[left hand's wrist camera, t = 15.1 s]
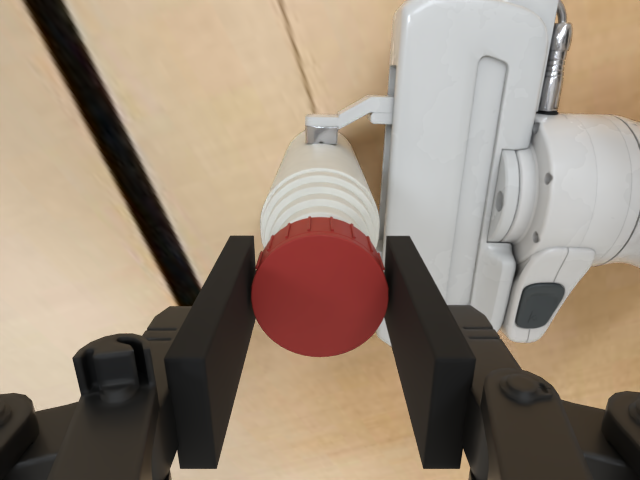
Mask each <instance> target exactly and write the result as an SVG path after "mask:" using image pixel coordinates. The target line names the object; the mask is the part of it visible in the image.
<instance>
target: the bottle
mask: <svg viewBox="0 0 640 480" xmlns="http://www.w3.org/2000/svg"><path fill="white" fill-rule="evenodd" d="M309 216H311V217H329V218H330V216H331V217H333V218H334V219H338V220H341V221H344V222H347V223H349V224H351V223H352V224H353V225H354V227H356V228H357V229H359V230H360V231H361V232H362V233H364V234H365V235H366V236H369V237H370V240H371V242H372V244H373V245H374V247H375V249H376V247H377V243H378V239H379V228H380V221H379V213H378V209H377V206H376V203H375V201H374V198H373V196H372V194H371V191H370V189H369V186H368V184H367V182H366V179H365V177H364V174H363V172H362V170H361V167H360V165H359V162H358V160H357V158H356V155H355V153H354V151H353V148H352V146H351V144H350V143H349V141H348V140H347V139H346V138H345V137H344V136H343V135H342V134H340V133H339V132H338V136H337V144H324V143H323V142H319V143H318V144H307V143H305V131H303V132H301V133H300V134H298V135H297V136H296V137H295V138H294V139H293V140H292V141H291V143H290V144H289V146H288V148H287V151H286V153H285V155H284V158H283V160H282V163H281V165H280V167H279V170H278V172H277V174H276V177H275V179H274V182H273V184H272V186H271V189H270V191H269V194H268V196H267V198H266V201H265V203H264V205H263V209H262V212H261V219H260V229H261V239H262V244H263V247H264V248H265V246H266V245H267V243H268V242H269V241H270V238H271V236H272V235H275V234H276V233H277V232H278V231H280V230H281V229H282V228H284V227H286V226H287V225H288V223H293V222H295V221H298V220H302V219H306V218H308V217H309Z"/></svg>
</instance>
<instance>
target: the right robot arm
mask: <svg viewBox="0 0 640 480" xmlns="http://www.w3.org/2000/svg"><path fill="white" fill-rule="evenodd" d="M556 13H557V16H558V23H555V18H556ZM572 34H573V26H572V23H567V14H566V9H565V6H564V4H563V2H562V1H561V0H405V1H404V2H403V3H402V5H401V6H400V7H399V8H398V9H397V10H396V11H395V13H394V16H393V22H392V36H391V50H390V64H389V78H388V93H387V95H366V96H365V97H363V98H361V99H359V100H358V101H356V102H354V103H352V104H351V105H349V106H347V107H345V108H344V109H342V110H340V111H338V112H337V114H306V116H305V143H307V144H318V143H319V142H323V143H324V144H337V136H338V129H341V128H343V127H345V126H346V125H348V124H350V123H352V122H354V121H356V120H357V119H359V118H361V117H363V116H365V115H367V119H368V120H369V121H370V122H371V123H372V124H385V135H384V149H383V163H382V177H381V192H380V206H379V221H380V228H379V239H378V243H377V247H376V251H377V253H378V252H379V253H380V256H381V259H382V262H383V265H384V267H385V250H386V236H410V237H411V239H412V241H413V243H414V245H415V247H416V248H417V250H418V252H419V254H420V256H421V258H422V259H423V261H424V263H425V265H426V267H427V269H428V271H429V272H430V274H431V276H432V278H433V280H434V282H435V283H436V285H437V287H438V289H439V291H440V293H441V295H442V296H443V298H444V300H445V302H446V304H447V305H471V306H473V307H474V308H475V309H477V310H478V311H480V312H481V313H483V314H484V315H485V316H486V317H487V319H488V320H489V322H490V323H491V325H492V326H493V329H495V331H496V332H498V331H499V329H500V330H501V331H502V332H503V333H504V334H505V335H506V337H507V338H508V339H509V340H511V341H513V342H519V343H531V342H535V341H537V340H538V339H540V338H541V337H542V336H543V334H544V333H545V332H546V330H547V328H548V327H549V325H550V324H551V322H552V320H553V319H554V317H555V315H556V314H557V312H558V311H559V309H560V307H561V306H562V304H563V303H564V301H565V300H566V298H567V297H568V296H569V294H570V293H571V291H572V290H573V289H574V287H575V286H576V285H577V283H578V282H579V281H580V280H581V278H582V277H583V276H584V275H585V274H586V272H587V271H588V270H589V269H590V267H593V266H600V265H605V264H610V263H626V264H630V265H633V266H636V267H638V268H640V122H637V121H634V120H632V119H629V118H626V117H622V116H619V115H610V114H566V113H558V112H557V111H558V106H559V100H560V95H561V90H562V85H563V76H564V72H563V71H564V65H565V60H566V55H567V51H569V49H570V45H571V41H572ZM383 271H384V270H383ZM376 334H377V336H378V338H380V339H381V340H382V341H383V342H385V343H386V344H388V345H389V346H391V342H390V338H389V334H388V330H387V327H386V323H385V319H383V321H382V323H381V324H380V326H379V328H378V329H377V330H376ZM391 347H392V346H391Z"/></svg>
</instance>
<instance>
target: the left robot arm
mask: <svg viewBox="0 0 640 480" xmlns="http://www.w3.org/2000/svg"><path fill="white" fill-rule="evenodd" d="M384 268H385V270H384V274H385V277H386V281H387V284H388V287H389V290H388V296H389V299H388V307H387V310H386V314H385V316H384V319H385V323H386V327H387V330H388V334H389V338H390V342H391V346H392V350H393V354H394V357H395V361H396V365H397V369H398V373H399V377H400V381H401V384H402V388H403V392H404V396H405V400H406V404H407V408H408V411H409V415H410V419H411V423H412V427H413V431H414V435H415V438H416V442H417V446H418V450H419V454H420V458H421V462H422V465H423V469H460V464H461V457H462V451H463V449H464V452H465V454H466V457H467V460H468V462H469V465H470V473H469V479H468V480H640V392H630V391H625V392H619V393H615V394H614V395H612V396H611V397H610V398H609V399H608V403H607V406H606V410H603V409H599V408H594V407H589V406H585V405H580V404H575V403H571V402H568V401H564V400H561V399H560V397H559V395H558V393H557V392H556V390H555V389H554V387H553V386H552V385H551V384H549V383H548V382H547V381H545V380H544V379H543V378H541V377H539V376H537V375H535V374H533V373H530V372H528V371H524V370H522V369H521V368H520V366H519V365H518V363H517V362H516V360H515V359H514V357H513V356H512V354H511V353H510V351H509V350H508V348H507V347H506V345H505V344H504V343H503V341H502V340H501V339H500V337H499V335H498V334H497V332H496V331H495V329H493V326H492V325H491V323H490V322H489V320H488V319H487V317H486V316H485V315H484V314H483V313H481V312H480V311H478V310H477V309H475V308H474V307H473V306H471V305H447V304H446V302H445V300H444V298H443V296H442V295H441V293H440V291H439V289H438V287H437V285H436V283H435V282H434V280H433V278H432V276H431V274H430V272H429V271H428V269H427V267H426V265H425V263H424V261H423V259H422V258H421V256H420V254H419V252H418V250H417V248H416V247H415V245H414V243H413V241H412V239H411V237H410V236H386V250H385V267H384ZM255 272H256V269H255V250H254V236H230V237H229V239H228V241H227V243H226V245H225V247H224V248H223V250H222V252H221V254H220V256H219V258H218V259H217V261H216V263H215V265H214V267H213V269H212V271H211V272H210V274H209V276H208V278H207V280H206V282H205V283H204V285H203V287H202V289H201V291H200V293H199V294H198V296H197V298H196V300H195V302H194V304H193V306H170V307H168V308H167V309H165V310H164V311H162V312H161V313H160V314H158V315H157V316H155V318H154V319H153V321H152V322H151V324H150V325H149V327H148V328H147V331H145V332H144V334H143V335H142V336H140V335H136V334H115V335H110V336H105V337H102V338H100V339H97V340H95V341H92V342H90V343H89V344H87V345H86V346H84V347H83V348H81V349H80V350H79V351H78V352H77V353H76V354H75V356H74V357H73V363H74V367H75V371H76V375H77V379H78V384H79V388H80V392H81V397H80V400H79V402H75V403H72V404H68V405H64V406H60V407H55V408H50V409H46V410H41V411H36V412H35V410H34V406H33V403H32V400H31V399H29V398H28V397H27V396H26V395H22V394H17V393H9V394H0V480H171V473H170V467H171V465H172V462H173V459H174V457H175V454H176V451H178V458H179V464H180V469H217V465H218V461H219V458H220V454H221V450H222V446H223V442H224V438H225V434H226V431H227V427H228V423H229V419H230V415H231V411H232V408H233V404H234V400H235V396H236V392H237V388H238V384H239V381H240V377H241V373H242V369H243V365H244V361H245V357H246V354H247V350H248V346H249V342H250V338H251V334H252V330H253V327H254V323H255V319H256V317H255V315H254V311H253V308H252V302H251V290H252V289H251V285H252V282H253V279H254V275H255Z"/></svg>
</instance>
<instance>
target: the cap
mask: <svg viewBox="0 0 640 480" xmlns="http://www.w3.org/2000/svg"><path fill="white" fill-rule="evenodd" d="M255 269H257V270H256V272H255V275H254V279H253V282H252V285H251V289H252V290H251V302H252V308H253V311H254V315H255V317H256V319H257V321H258V323H259V325H260V326H261V328H262V329H263V331H264V332H265V333H266V334H267V335H268V336H269V337H270V338H271V339H272V340H273V341H274V342H276V343H277V344H278V345H280V346H281V347H283V348H285V349H287V350H289V351H292V352H294V353H297V354H301V355H305V356H311V357H329V356H335V355H339V354H343V353H346V352H348V351H350V350H353V349H355V348H356V347H358V346H360V345H361V344H363V343H364V342H365V341H367V340H368V339H369V338H370V337H371V336H372V335H373V334H374V333H375V332H376V330H377V329H378V328H379V326H380V324H381V323H382V321H383V319H384V316H385V314H386V310H387V307H388V299H389V296H388V290H389V287H388V284H387V281H386V277H385V274H384V271H383V270H385V268H384V265H383V262H382V259H381V256H380V253H379V252H378V253H377V251H376V249H375V247H374V245H373V244H372V242H371V240H370V237H369V236H366V235H365V234H364V233H362V232H361V231H360V230H359V229H357V228H356V227H354V225H353V224H352V223H351V224H349V223H347V222H344V221H341V220H338V219H334V218H333V217H331V216H330V218H329V217H311V216H309V217H308V218H306V219H302V220H298V221H295V222H293V223H288V225H287V226H286V227H284V228H282V229H281V230H280V231H278V232H277V233H276V234H275V235H272V236H271V238H270V241H269V242H268V243H267V245H266V246H265V248H264V250H263V252H262V251H261V252H260V255H259V258H258V261H257V264H256V267H255Z"/></svg>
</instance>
